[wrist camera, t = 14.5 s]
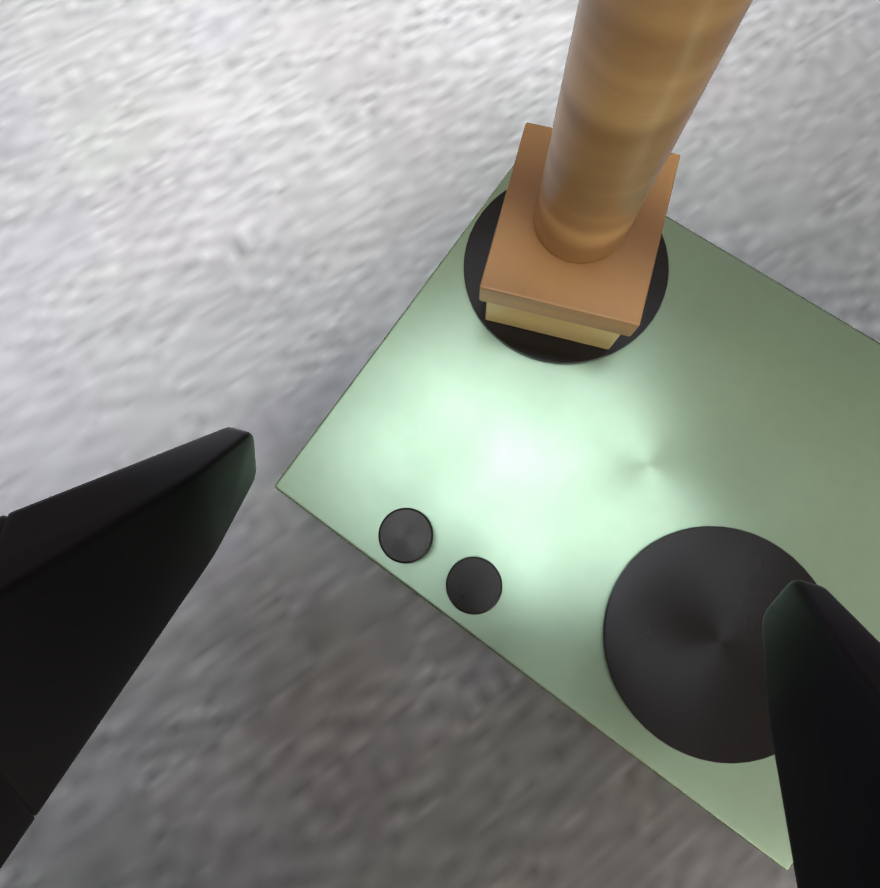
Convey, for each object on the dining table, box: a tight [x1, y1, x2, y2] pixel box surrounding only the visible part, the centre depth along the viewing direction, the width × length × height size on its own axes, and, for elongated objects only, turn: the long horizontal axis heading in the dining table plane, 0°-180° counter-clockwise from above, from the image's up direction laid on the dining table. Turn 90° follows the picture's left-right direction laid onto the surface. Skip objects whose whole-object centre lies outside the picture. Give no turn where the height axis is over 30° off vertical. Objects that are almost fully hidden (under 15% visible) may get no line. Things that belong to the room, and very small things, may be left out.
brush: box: [479, 0, 753, 350], centre depth 13 cm, size 6×5×14 cm
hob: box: [275, 165, 880, 870], centre depth 19 cm, size 16×20×3 cm
